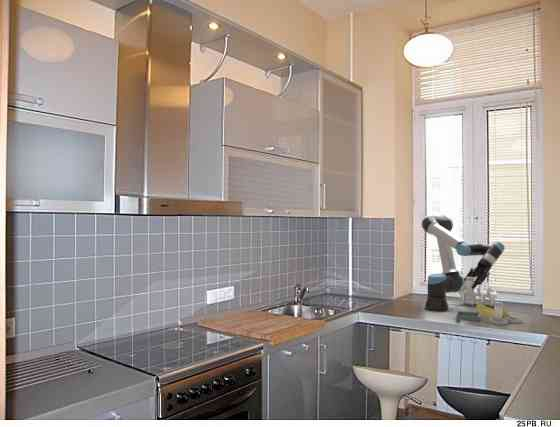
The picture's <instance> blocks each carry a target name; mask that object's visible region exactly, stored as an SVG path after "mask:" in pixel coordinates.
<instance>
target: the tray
mask: <svg viewBox="0 0 560 427" xmlns="http://www.w3.org/2000/svg"><path fill="white" fill-rule="evenodd" d="M461 320H462V321H463V320H464V321H473V322H480V313H479V312H475V311H474V312H473V311H465V310H457V311H456V322H459V323H461Z"/></svg>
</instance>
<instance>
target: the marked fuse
mask: <svg viewBox="0 0 560 427" xmlns="http://www.w3.org/2000/svg"><path fill="white" fill-rule="evenodd" d="M465 277H466V276H465ZM474 281H475V278H474V277H466V297H467V298H468V299H471V298H474V290H475V289H473V291H472V292H471V293H470V294H469V293H468V291H467V289H468V288H469V287H470V285H471V284H472V283H473V282H474Z"/></svg>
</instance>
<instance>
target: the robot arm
mask: <svg viewBox="0 0 560 427" xmlns="http://www.w3.org/2000/svg"><path fill="white" fill-rule="evenodd" d="M453 227H454V222H453V220H452V218H451V217H449V216H448V215H443V214H441V215H440V214H428V215H426V216H425V217H423V218H422V221H421V228H422V229H423V230H424V232H426V233H427V234H428V235H433V236H434V237H436V242H437V245H438V252H439V257H440V263H441V267H442V272H440V273H431V274H430V275H428V277H427V281H426V282H427V297H426V301H425V303H424V309H425V310H427V311H432V312H447V311H449V307H450V306H449V304H448V301H447V294H448V293H449V294H451V293H454V294H455V293H458V292H459V291H462V292H464V291H465V290H466V277H474V282H473V283H472V284H471V285H470V287H469V288H468V289H467V291H468V293H469V294H470V293H471V292H472V291H473V289H474V290H475V289H476V288H477V285H480V286H481V285H482V284H483V283H484V281H485V280H486V279H487V277H488V276H489V275H490V274H491V272H490V270H491V268H493V266H494V265H495V264H496V262H497V260H499V258H500V257H501V255H502V254H503V253H504V251H505V245H504V244H503V242H500V241H493V242H492V243H491V244H489V243H481V242H474V243H468V242H467V241H466V240H463V239H462V238H460V237H459V236H458V235H456V234H454V233H453V232H452V230H453ZM453 249H454V250H456V251H455V252H456V254H458V256H460V257H470V256H474V257H475V256H482V257H481V259H480V260H479V261H478V262H477V266H476V267H475V268H473V267H471V268H470V270H469V272H468V273H467V274H466V275H465V277H463V276H462V275H461V274H460V271H459V270H458V269H457V268H456V263H455V262H456V261H455V258H454V252H453Z"/></svg>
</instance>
